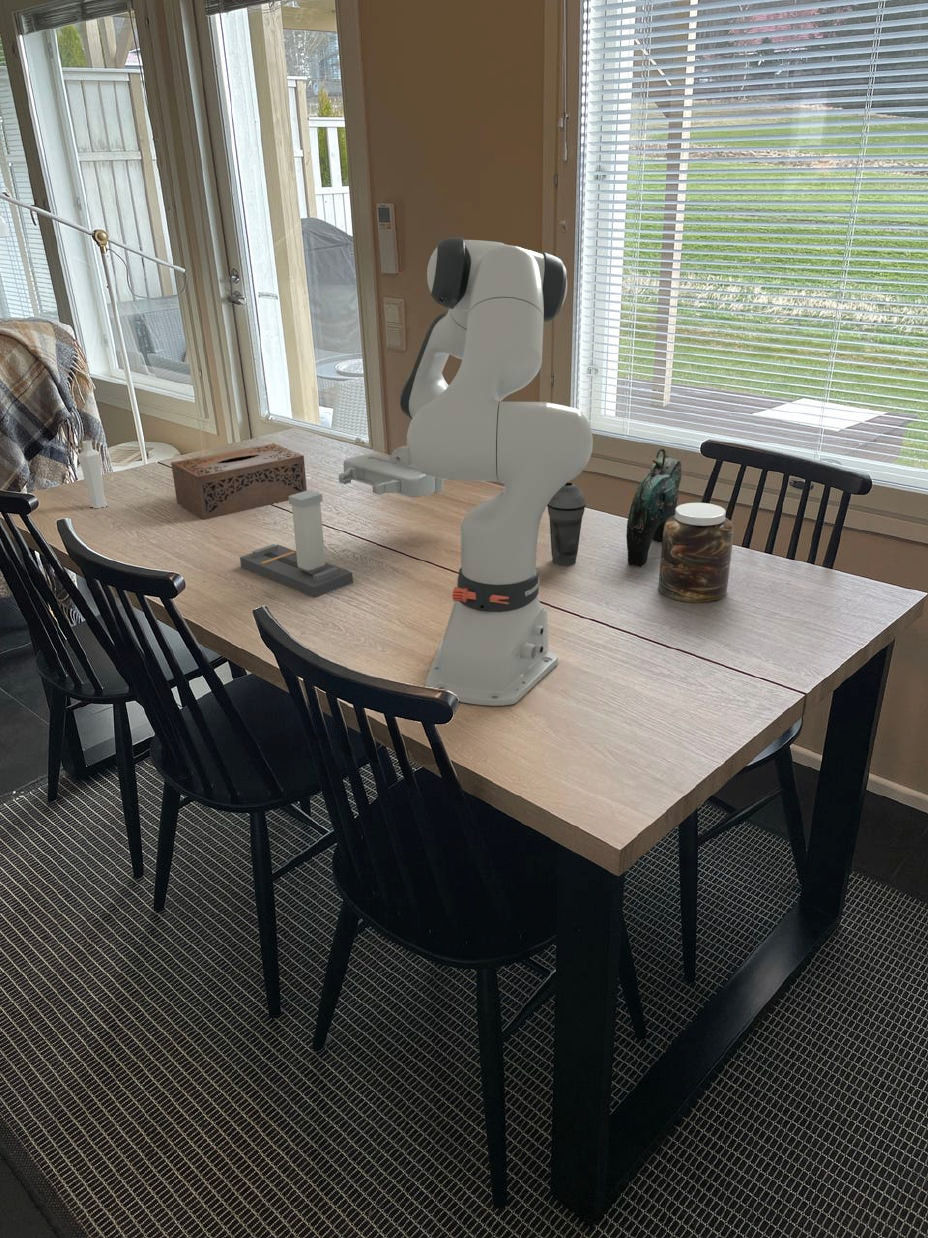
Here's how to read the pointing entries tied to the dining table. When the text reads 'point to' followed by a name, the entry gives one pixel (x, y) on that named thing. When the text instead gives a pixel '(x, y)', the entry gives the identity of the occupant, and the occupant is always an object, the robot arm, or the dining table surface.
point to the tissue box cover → (238, 480)
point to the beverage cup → (566, 523)
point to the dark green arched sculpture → (652, 507)
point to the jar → (696, 553)
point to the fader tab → (308, 531)
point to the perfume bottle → (92, 475)
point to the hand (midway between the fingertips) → (357, 484)
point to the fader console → (294, 571)
